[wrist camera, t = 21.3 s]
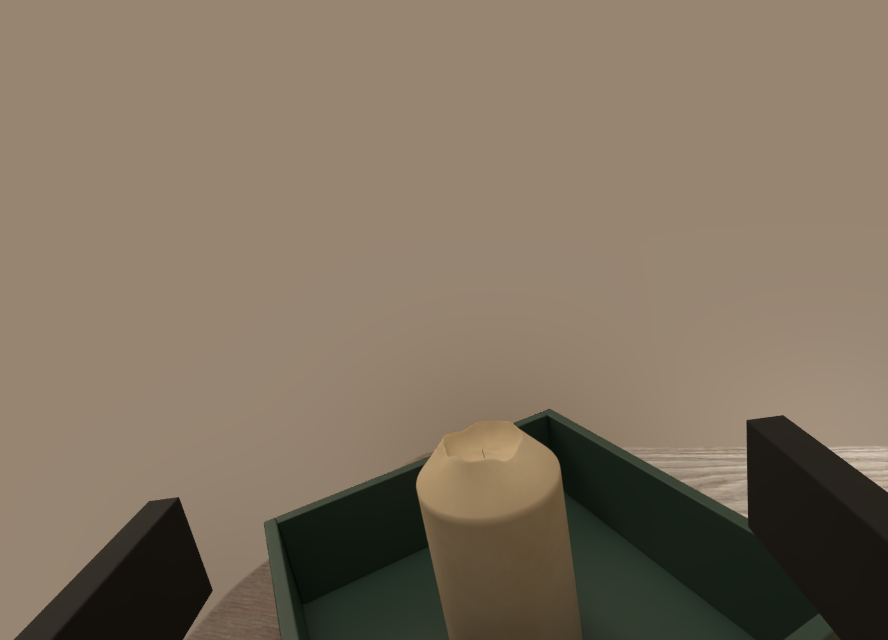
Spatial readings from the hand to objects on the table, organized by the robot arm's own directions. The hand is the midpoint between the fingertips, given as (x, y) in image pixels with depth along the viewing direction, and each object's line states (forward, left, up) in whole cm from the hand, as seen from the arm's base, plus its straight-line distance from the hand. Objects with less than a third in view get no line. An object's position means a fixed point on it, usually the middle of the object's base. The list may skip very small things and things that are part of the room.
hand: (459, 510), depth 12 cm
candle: (+3, +6, -12) cm, 14 cm away
